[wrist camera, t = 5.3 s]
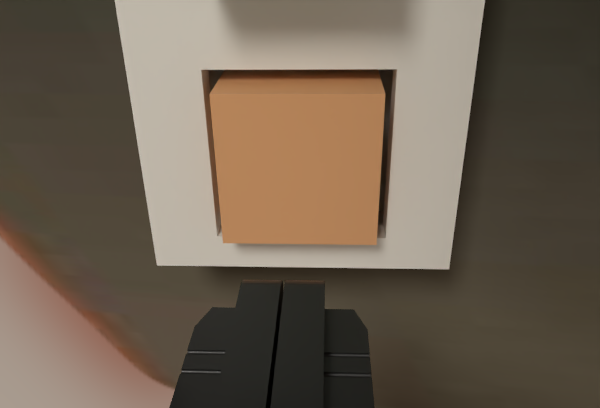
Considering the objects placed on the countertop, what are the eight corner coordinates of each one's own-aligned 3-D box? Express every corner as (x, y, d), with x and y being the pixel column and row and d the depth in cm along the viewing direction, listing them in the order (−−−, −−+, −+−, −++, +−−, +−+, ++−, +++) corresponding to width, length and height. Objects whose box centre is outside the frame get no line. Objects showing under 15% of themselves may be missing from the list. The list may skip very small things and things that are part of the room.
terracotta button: (226, 66, 18) (209, 94, 15) (376, 66, 18) (385, 94, 15) (236, 199, 20) (222, 243, 18) (370, 200, 20) (376, 244, 17)
